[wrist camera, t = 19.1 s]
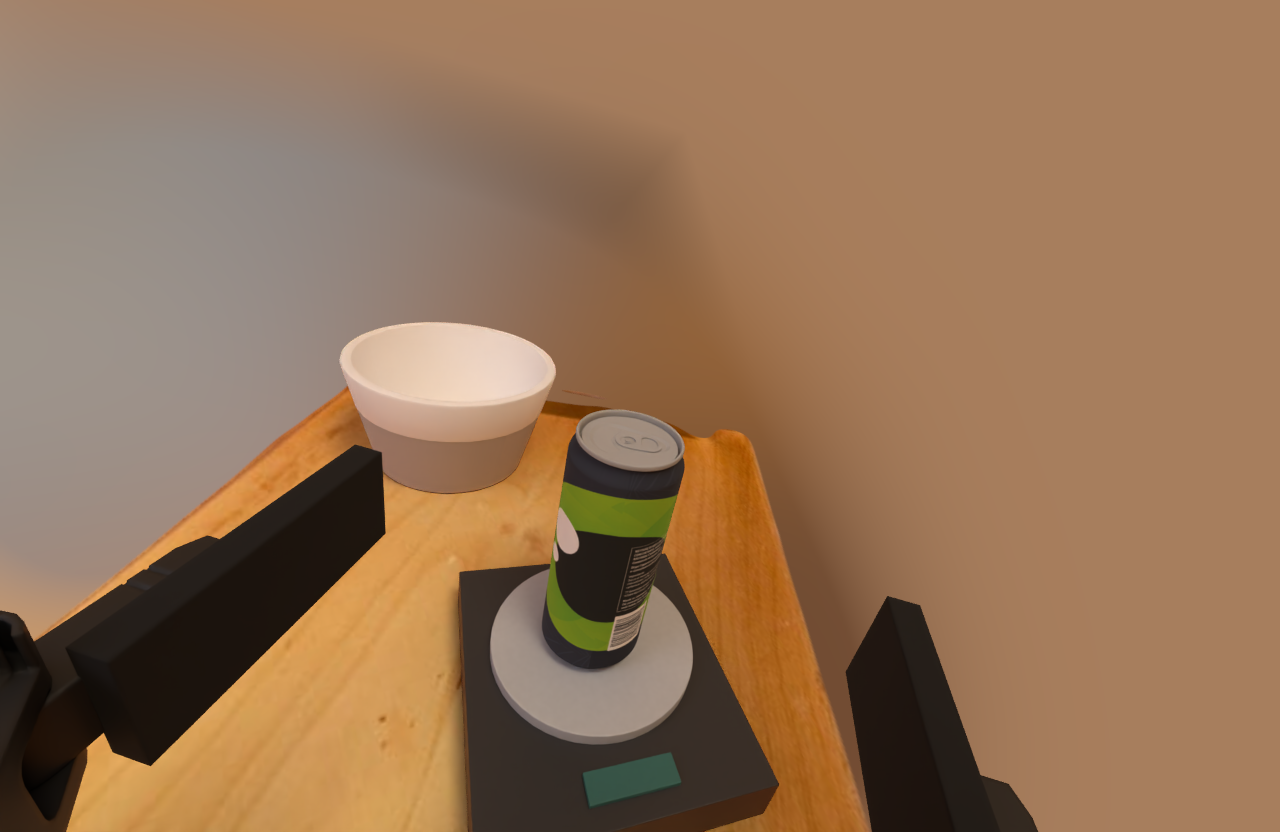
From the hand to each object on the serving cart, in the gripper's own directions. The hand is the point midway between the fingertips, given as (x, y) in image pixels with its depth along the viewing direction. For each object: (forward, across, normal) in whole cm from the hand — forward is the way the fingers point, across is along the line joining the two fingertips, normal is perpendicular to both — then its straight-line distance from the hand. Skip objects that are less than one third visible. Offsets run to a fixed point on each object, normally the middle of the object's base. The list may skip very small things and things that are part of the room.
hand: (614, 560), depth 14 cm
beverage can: (+14, -2, -19) cm, 24 cm away
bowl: (+33, -22, -23) cm, 46 cm away
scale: (+12, -1, -23) cm, 26 cm away
